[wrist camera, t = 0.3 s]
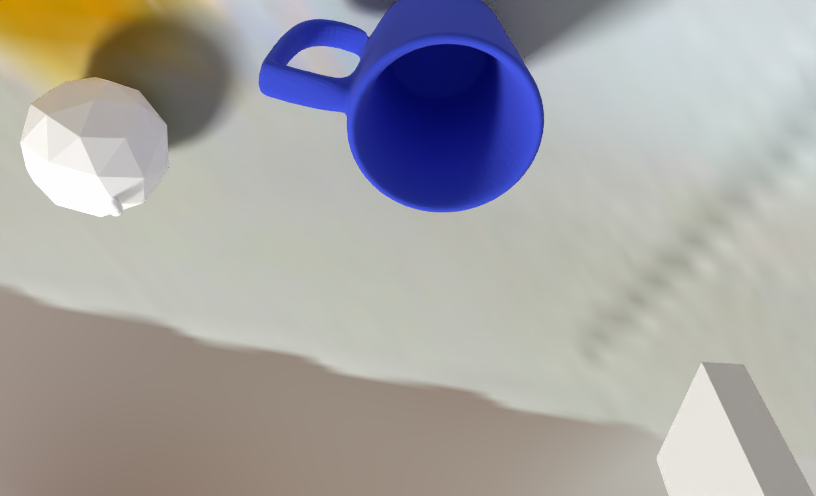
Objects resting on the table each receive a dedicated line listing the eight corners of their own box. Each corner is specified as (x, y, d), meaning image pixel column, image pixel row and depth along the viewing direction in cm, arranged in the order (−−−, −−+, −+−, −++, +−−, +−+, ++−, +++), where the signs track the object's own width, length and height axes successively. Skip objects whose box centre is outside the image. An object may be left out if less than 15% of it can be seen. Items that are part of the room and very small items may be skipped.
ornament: (150, 40, 36) (191, 160, 33) (148, 128, 42) (184, 237, 39) (-2, 49, 33) (30, 183, 30) (20, 143, 39) (48, 263, 36)
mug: (301, -74, 33) (266, -15, 25) (537, -12, 35) (575, 62, 27) (278, 82, 38) (242, 174, 30) (487, 130, 40) (507, 230, 32)
